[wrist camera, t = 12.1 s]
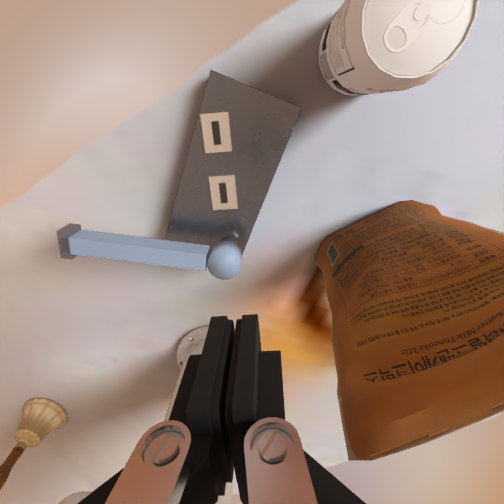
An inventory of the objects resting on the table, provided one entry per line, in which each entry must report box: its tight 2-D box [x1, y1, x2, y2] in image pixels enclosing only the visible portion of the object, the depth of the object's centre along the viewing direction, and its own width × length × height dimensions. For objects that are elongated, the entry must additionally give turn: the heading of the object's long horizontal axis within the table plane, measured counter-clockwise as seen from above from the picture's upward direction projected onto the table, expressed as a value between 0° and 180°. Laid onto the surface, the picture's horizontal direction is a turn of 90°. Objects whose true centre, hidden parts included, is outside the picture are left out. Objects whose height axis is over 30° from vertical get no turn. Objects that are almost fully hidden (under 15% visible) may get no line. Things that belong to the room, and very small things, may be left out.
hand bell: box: [0, 398, 67, 489], centre depth 53 cm, size 8×8×16 cm
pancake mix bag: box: [315, 200, 504, 460], centre depth 28 cm, size 7×19×28 cm, turn 120°
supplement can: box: [319, 0, 479, 96], centre depth 26 cm, size 8×8×15 cm
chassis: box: [165, 70, 301, 255], centre depth 36 cm, size 20×10×6 cm, turn 159°
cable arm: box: [57, 224, 242, 280], centre depth 35 cm, size 20×4×2 cm, turn 83°
